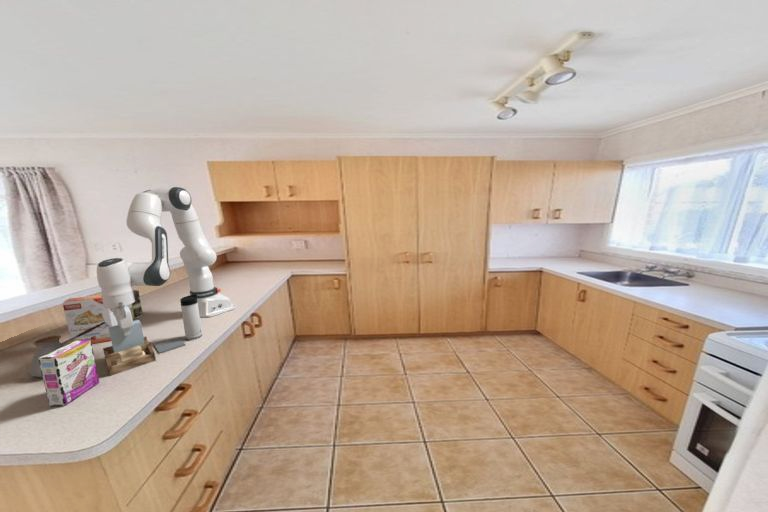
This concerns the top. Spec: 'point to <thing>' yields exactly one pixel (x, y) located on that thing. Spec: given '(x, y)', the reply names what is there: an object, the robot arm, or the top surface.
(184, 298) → the travel mug
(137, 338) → the board
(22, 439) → the top surface
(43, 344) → the coffee pot
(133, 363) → the rack
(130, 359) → the block
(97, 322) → the cracker box
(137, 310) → the coffee can
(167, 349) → the mat
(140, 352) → the upper offcut
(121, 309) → the robot arm
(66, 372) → the candy bar box
